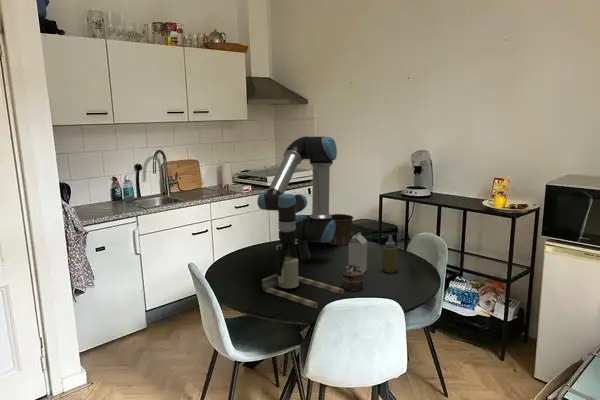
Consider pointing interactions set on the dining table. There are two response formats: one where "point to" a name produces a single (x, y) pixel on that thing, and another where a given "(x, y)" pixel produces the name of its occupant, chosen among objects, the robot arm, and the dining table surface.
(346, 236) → the plant pot
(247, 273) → the dining table surface
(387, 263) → the squeeze bottle
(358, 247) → the milk carton
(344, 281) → the cupcake
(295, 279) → the can
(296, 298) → the guide track
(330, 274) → the dining table surface
